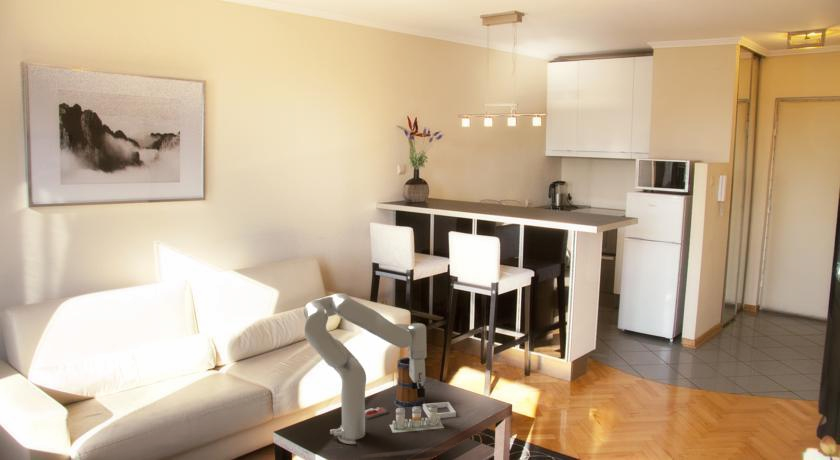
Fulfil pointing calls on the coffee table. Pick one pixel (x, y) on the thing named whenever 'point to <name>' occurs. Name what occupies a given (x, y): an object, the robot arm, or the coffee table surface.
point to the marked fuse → (416, 417)
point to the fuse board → (409, 428)
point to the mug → (406, 387)
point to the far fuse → (432, 415)
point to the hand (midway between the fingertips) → (418, 392)
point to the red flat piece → (375, 412)
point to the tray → (440, 405)
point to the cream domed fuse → (400, 418)
